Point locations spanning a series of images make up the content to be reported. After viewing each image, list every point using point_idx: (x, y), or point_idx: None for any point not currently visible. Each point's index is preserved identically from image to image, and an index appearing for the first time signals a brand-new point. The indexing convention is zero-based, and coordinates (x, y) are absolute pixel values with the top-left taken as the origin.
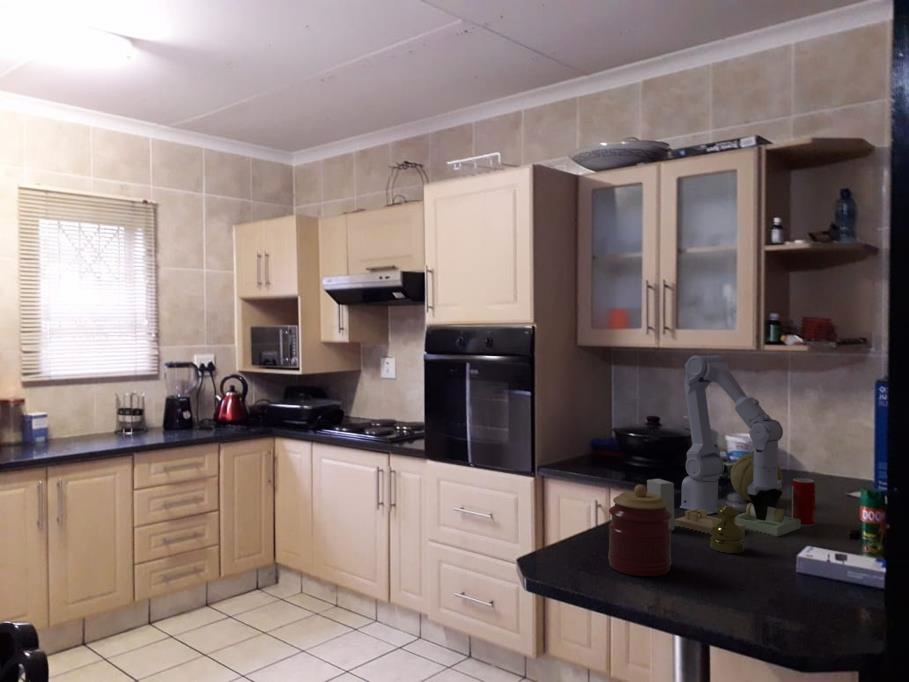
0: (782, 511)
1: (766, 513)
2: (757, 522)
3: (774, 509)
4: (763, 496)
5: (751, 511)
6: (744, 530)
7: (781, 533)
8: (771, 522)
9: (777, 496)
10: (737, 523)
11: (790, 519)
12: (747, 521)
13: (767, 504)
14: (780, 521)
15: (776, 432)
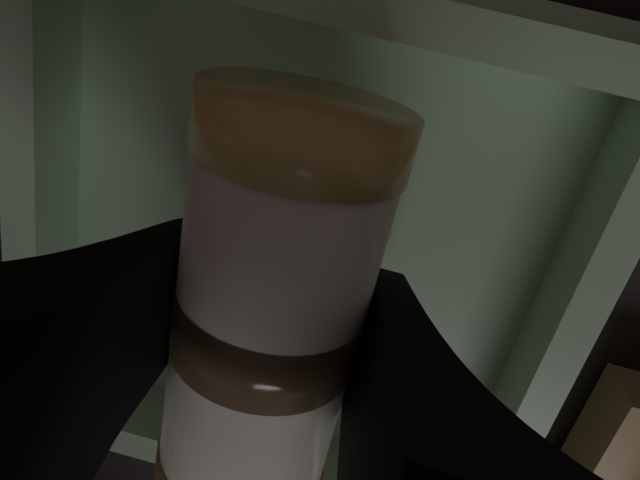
0: (246, 97)
1: (393, 299)
2: (562, 321)
3: (327, 228)
4: None
5: (325, 456)
6: (630, 373)
7: (578, 9)
8: (151, 213)
9: (9, 324)
10: (619, 472)
11: (42, 16)
12: (552, 413)
13: (430, 381)
14: (344, 87)
15: None
